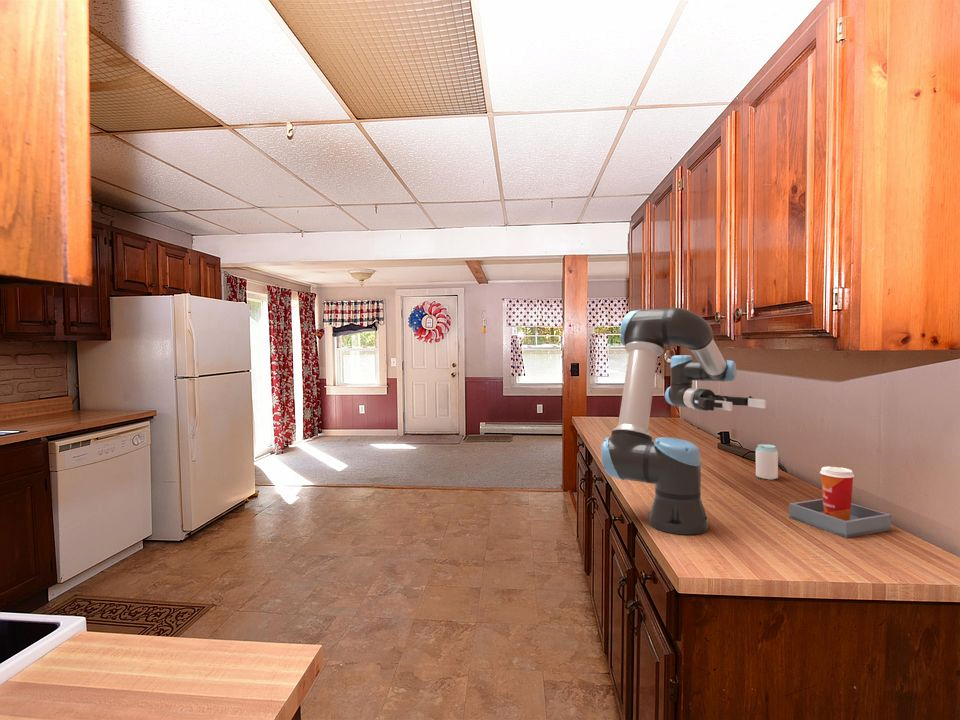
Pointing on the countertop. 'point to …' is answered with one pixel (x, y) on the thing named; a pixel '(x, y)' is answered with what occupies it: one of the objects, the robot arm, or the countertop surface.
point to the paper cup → (837, 491)
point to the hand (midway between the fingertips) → (748, 405)
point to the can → (767, 462)
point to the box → (858, 524)
